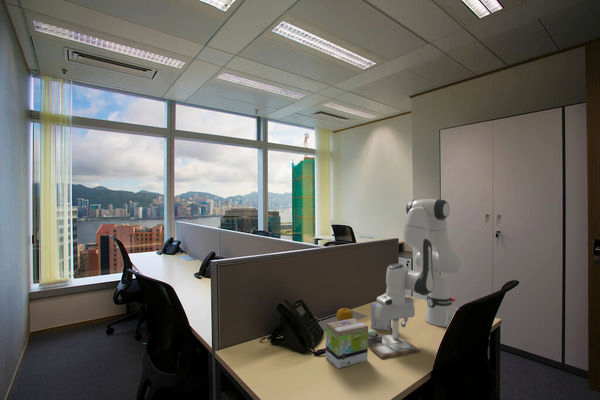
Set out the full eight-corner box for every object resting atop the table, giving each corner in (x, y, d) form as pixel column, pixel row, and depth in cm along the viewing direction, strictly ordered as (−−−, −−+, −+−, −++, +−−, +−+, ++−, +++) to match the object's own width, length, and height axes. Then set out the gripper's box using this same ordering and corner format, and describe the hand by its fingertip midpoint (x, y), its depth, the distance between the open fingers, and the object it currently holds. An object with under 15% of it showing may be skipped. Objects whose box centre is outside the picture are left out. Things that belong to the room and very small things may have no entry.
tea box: (338, 370, 112) (339, 332, 113) (325, 357, 121) (325, 322, 122) (368, 360, 119) (368, 325, 120) (353, 349, 128) (353, 316, 129)
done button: (372, 334, 138) (372, 328, 138) (377, 338, 134) (377, 332, 134) (364, 335, 137) (364, 329, 137) (369, 339, 133) (369, 333, 133)
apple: (341, 329, 149) (342, 312, 150) (333, 323, 158) (333, 306, 158) (356, 326, 153) (356, 309, 153) (346, 320, 161) (347, 304, 162)
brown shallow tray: (394, 334, 144) (394, 326, 144) (419, 352, 127) (419, 342, 127) (359, 339, 138) (359, 331, 138) (380, 358, 121) (380, 349, 121)
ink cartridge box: (391, 327, 153) (391, 300, 153) (390, 331, 147) (390, 303, 148) (372, 324, 156) (372, 297, 157) (370, 328, 151) (370, 300, 152)
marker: (396, 336, 139) (396, 315, 139) (400, 339, 136) (400, 317, 136) (390, 337, 138) (390, 316, 138) (394, 340, 135) (394, 318, 135)
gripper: (409, 295, 144) (408, 322, 143) (373, 298, 137) (373, 327, 137) (417, 298, 138) (417, 327, 137) (381, 302, 131) (380, 332, 131)
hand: (395, 327), depth 137 cm, fingers open, 8 cm apart
